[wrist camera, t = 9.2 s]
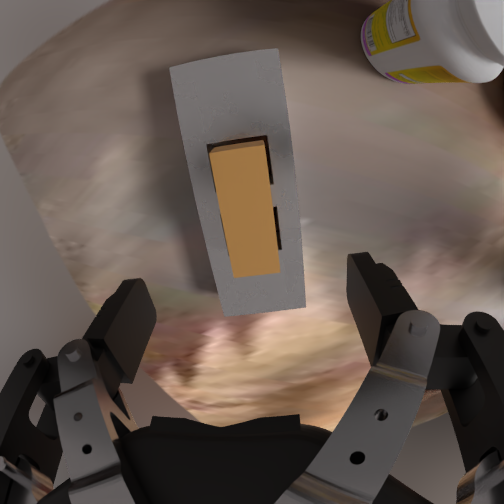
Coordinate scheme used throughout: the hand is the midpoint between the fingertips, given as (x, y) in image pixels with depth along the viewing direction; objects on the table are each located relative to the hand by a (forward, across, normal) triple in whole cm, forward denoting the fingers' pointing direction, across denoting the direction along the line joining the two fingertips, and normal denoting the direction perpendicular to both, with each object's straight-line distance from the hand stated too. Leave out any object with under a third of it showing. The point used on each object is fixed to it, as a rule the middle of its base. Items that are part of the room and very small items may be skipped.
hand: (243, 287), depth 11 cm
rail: (+13, 0, 0) cm, 13 cm away
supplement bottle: (+13, -13, -11) cm, 22 cm away
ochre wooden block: (+13, 0, 0) cm, 13 cm away
